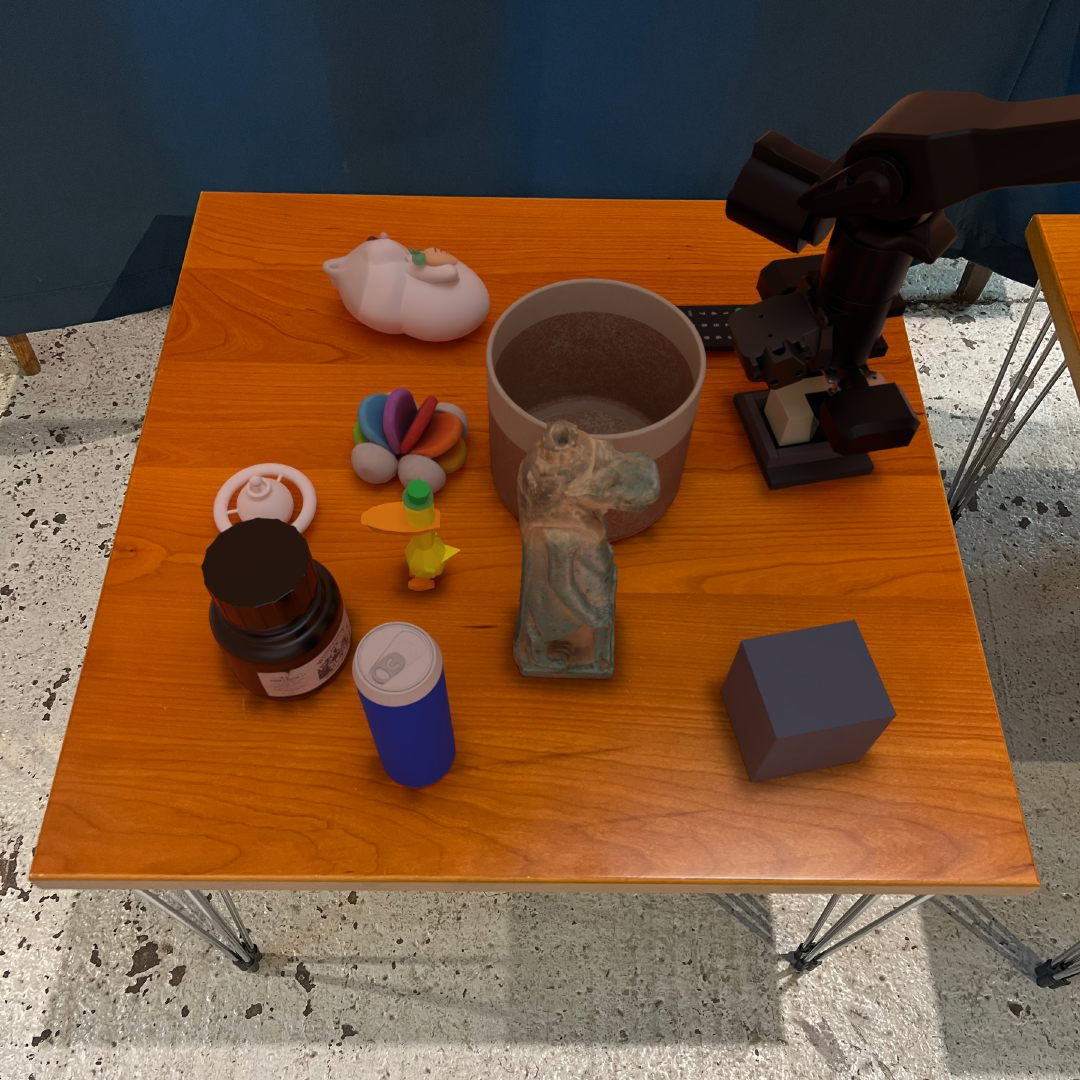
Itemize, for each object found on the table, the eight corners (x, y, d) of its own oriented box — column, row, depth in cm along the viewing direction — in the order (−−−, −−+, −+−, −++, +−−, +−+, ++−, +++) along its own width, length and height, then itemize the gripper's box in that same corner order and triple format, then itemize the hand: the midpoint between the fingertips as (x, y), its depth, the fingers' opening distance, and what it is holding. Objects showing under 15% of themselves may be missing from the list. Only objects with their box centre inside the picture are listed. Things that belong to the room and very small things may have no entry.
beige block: (829, 400, 84) (840, 372, 81) (846, 436, 81) (859, 408, 78) (763, 410, 83) (772, 382, 80) (779, 446, 81) (788, 419, 78)
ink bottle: (296, 730, 68) (258, 652, 58) (202, 668, 71) (149, 584, 61) (380, 626, 73) (358, 538, 63) (289, 572, 75) (254, 479, 65)
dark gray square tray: (828, 386, 87) (835, 367, 85) (871, 474, 82) (880, 455, 79) (732, 400, 86) (737, 381, 84) (769, 490, 80) (776, 472, 78)
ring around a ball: (313, 469, 81) (215, 487, 79) (301, 426, 76) (196, 445, 75) (326, 549, 77) (223, 569, 75) (314, 510, 72) (204, 531, 71)
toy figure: (374, 600, 74) (351, 509, 64) (378, 560, 76) (356, 466, 66) (463, 599, 74) (454, 508, 64) (464, 560, 76) (455, 465, 66)
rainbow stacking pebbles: (450, 511, 79) (444, 455, 73) (339, 482, 80) (324, 425, 74) (483, 433, 83) (480, 375, 77) (377, 408, 85) (366, 348, 79)
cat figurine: (498, 246, 82) (324, 208, 82) (478, 338, 82) (304, 301, 82) (499, 279, 92) (343, 245, 92) (482, 362, 92) (325, 328, 91)
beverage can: (417, 705, 69) (394, 601, 57) (471, 749, 68) (460, 651, 55) (365, 758, 67) (330, 662, 55) (420, 805, 65) (396, 717, 53)
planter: (714, 509, 79) (748, 396, 68) (537, 576, 75) (540, 467, 64) (626, 377, 87) (643, 255, 76) (462, 431, 83) (453, 311, 72)
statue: (629, 688, 70) (676, 481, 49) (514, 693, 70) (511, 486, 49) (620, 605, 74) (659, 380, 53) (510, 609, 74) (507, 385, 53)
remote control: (515, 318, 91) (515, 307, 90) (769, 315, 92) (772, 304, 91) (516, 360, 88) (516, 349, 87) (778, 355, 89) (782, 345, 88)
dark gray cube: (824, 671, 71) (855, 618, 65) (860, 761, 68) (897, 715, 61) (719, 690, 70) (740, 639, 64) (750, 783, 67) (776, 738, 60)
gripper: (712, 206, 73) (683, 354, 86) (798, 389, 63) (750, 525, 76) (852, 189, 74) (802, 337, 87) (957, 365, 64) (884, 503, 77)
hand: (806, 420), depth 82 cm, fingers closed on beige block, 4 cm apart
